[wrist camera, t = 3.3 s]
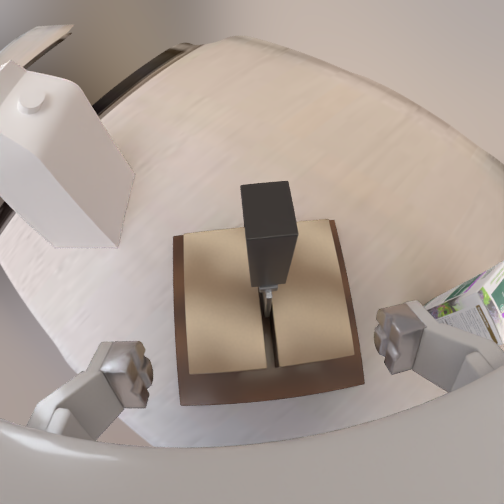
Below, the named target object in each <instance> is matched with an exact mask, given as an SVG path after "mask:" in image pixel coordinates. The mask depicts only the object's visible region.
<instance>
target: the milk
mask: <svg viewBox="0 0 504 504" xmlns="http://www.w3.org/2000/svg"><path fill="white" fill-rule="evenodd" d="M134 177H135V173H134V172H133V170H132V169H131V167H130V166H129V164H128V163H127V161H126V159H125V158H124V156H123V155H122V153H121V152H120V150H119V149H118V147H117V146H116V144H115V143H114V141H113V139H112V138H111V136H110V135H109V133H108V132H107V130H106V128H105V127H104V125H103V124H102V122H101V120H100V119H99V117H98V116H97V114H96V112H95V111H94V109H93V107H92V106H91V104H90V103H89V101H88V99H87V98H86V96H85V94H84V93H83V91H82V89H81V88H80V87H79V86H78V85H77V84H75V83H74V82H72V81H70V80H66V79H63V78H59V77H55V76H51V75H46V74H42V73H37V72H32V71H27V70H26V69H24V68H23V67H21V66H20V65H18V64H17V63H15V62H13V61H12V60H10V61H8V62H6V63H5V64H3V65H2V66H1V67H0V196H1V197H2V199H3V200H4V201H5V202H6V203H7V204H8V205H9V206H10V207H11V208H12V209H13V210H14V211H15V212H16V213H17V214H18V215H19V216H20V217H21V218H22V219H23V220H24V221H26V222H27V223H28V224H29V225H30V226H31V227H32V228H33V229H34V230H35V231H36V232H37V233H38V234H39V235H41V236H42V237H43V238H44V239H45V240H46V241H47V242H48V243H49V244H51V245H52V246H53V247H54V248H118V246H119V241H120V236H121V231H122V226H123V222H124V217H125V213H126V209H127V204H128V200H129V196H130V192H131V188H132V185H133V181H134Z"/></svg>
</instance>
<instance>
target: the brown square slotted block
mask: <svg viewBox="0 0 504 504" xmlns="http://www.w3.org/2000/svg"><path fill="white" fill-rule="evenodd" d="M296 223H297V228H298V233H299V235H298V239H297V242H296V246H295V250H294V254H293V258H292V262H291V265H290V269H289V273H288V277H287V280H286V283H285V284H278V291H272V303H271V309H270V316H269V317H265V314H264V305H263V296H262V293H260V292H259V287H251V282H250V273H249V264H248V256H247V247H246V238H245V228H244V227H240V228H231V229H222V230H213V231H204V232H195V233H187V234H184V235H180V236H173V290H174V322H175V342H176V358H177V372H178V384H179V395H180V405H181V406H188V405H219V404H235V403H248V402H259V401H268V400H277V399H285V398H292V397H299V396H305V395H312V394H318V393H323V392H329V391H334V390H339V389H344V388H349V387H353V386H358V385H362V384H365V382H364V374H363V366H362V359H361V352H360V345H359V339H358V333H357V327H356V321H355V315H354V309H353V304H352V298H351V293H350V288H349V283H348V278H347V273H346V269H345V264H344V259H343V255H342V250H341V246H340V242H339V237H338V233H337V229H336V225H335V221H334V220H328V219H323V220H312V221H301V222H296Z"/></svg>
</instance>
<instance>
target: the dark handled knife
mask: <svg viewBox="0 0 504 504" xmlns="http://www.w3.org/2000/svg"><path fill="white" fill-rule="evenodd" d="M240 188H241V198H242V208H243V218H244V228H245V238H246V247H247V256H248V264H249V273H250V282H251V287H259V292H260V293H262V296H263V305H264V314H265V317H269V316H270V309H271V303H272V291H278V284H285V283H286V280H287V277H288V273H289V269H290V265H291V262H292V258H293V254H294V250H295V246H296V242H297V239H298V235H299V233H298V228H297V223H296V217H295V212H294V207H293V202H292V197H291V192H290V187H289V182H288V181H280V182H268V183H257V184H247V185H241V186H240Z"/></svg>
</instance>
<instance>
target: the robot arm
mask: <svg viewBox="0 0 504 504" xmlns="http://www.w3.org/2000/svg"><path fill="white" fill-rule="evenodd" d="M376 320H377V321H378V322H379V324H378V326H377V327H376V328H375V332H374V342H375V346H376V349H377V351H378V353H379V354H380V355H382V356H384V357H385V360H384V363H385V365H386V366H387V368H388V370H389V372H390V373H391V375H393V374H397V373H400V372H404V371H407V370H411V369H412V370H413V371H415V372H416V373H418V374H419V375H421V376H423V377H424V378H426V379H427V380H429V381H431V382H432V383H434V384H435V385H437V386H439V387H440V388H442V389H444V390H445V391H447V392H448V393H447V394H445V395H443V396H440V397H438V398H435V399H433V400H431V401H428V402H426V403H423V404H420V405H418V406H415V407H412V408H410V409H407V410H404V411H401V412H398V413H395V414H392V415H389V416H386V417H383V418H380V419H377V420H373V421H370V422H366V423H363V424H359V425H355V426H352V427H348V428H344V429H340V430H335V431H331V432H327V433H322V434H317V435H312V436H307V437H301V438H295V439H289V440H283V441H276V442H268V443H260V444H250V445H239V446H225V447H200V448H172V447H148V446H133V445H123V444H114V443H105V442H98V441H96V440H97V438H98V437H99V436H100V435H101V434H102V433H103V432H104V431H105V430H106V429H107V428H108V427H109V426H110V424H111V423H112V422H113V421H114V420H115V419H116V418H117V417H118V416H119V415H120V414H121V412H122V411H123V410H124V408H146V406H147V402H148V398H149V392H148V390H147V389H148V388H149V387H150V386H151V385H152V381H153V369H152V365H151V362H150V360H149V359H148V358H147V357H145V356H144V353H145V348H144V346H143V344H142V342H140V341H115V342H102V343H100V345H99V347H98V348H97V350H96V352H95V354H94V356H93V358H92V360H91V362H90V364H89V366H88V368H87V370H86V371H82V372H81V373H79V374H78V375H77V376H75V377H74V378H72V379H71V380H69V381H68V382H67V383H65V384H64V385H62V386H61V387H60V388H58V389H57V390H55V391H54V392H53V393H51V394H50V395H48V396H47V397H46V398H44V399H43V400H41V401H40V402H39V403H38V404H37V406H36V408H35V410H34V412H33V413H32V415H31V417H30V420H29V421H28V424H27V426H23V425H20V424H16V423H13V422H10V421H7V420H4V419H1V418H0V504H504V351H503V350H502V349H501V348H500V347H499V346H498V345H497V344H496V343H495V342H494V341H492V340H489V339H486V338H483V337H481V336H478V335H475V334H472V333H469V332H467V331H464V330H461V329H458V328H456V327H453V326H450V325H447V324H445V323H440V324H439V323H438V322H437V321H436V320H435V319H434V317H433V316H432V315H431V314H430V313H429V312H428V311H427V310H426V309H425V308H424V307H423V306H422V305H421V304H420V303H419V301H417V300H413V301H409V302H405V303H403V304H399V305H395V306H391V307H386V308H382V309H379V310H378V312H377V317H376Z"/></svg>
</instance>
